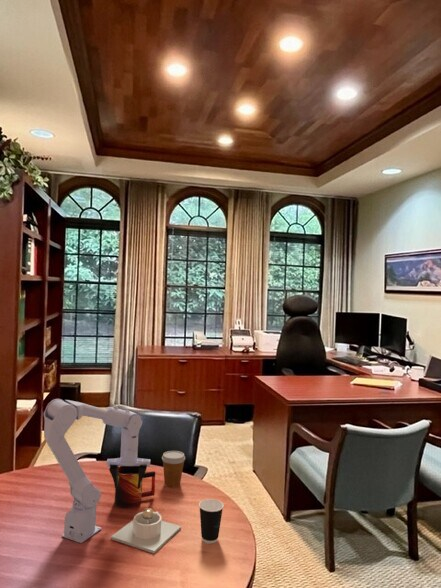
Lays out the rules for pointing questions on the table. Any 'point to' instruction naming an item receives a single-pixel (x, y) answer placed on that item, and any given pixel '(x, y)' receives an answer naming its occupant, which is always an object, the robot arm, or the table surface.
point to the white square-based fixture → (146, 533)
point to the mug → (131, 487)
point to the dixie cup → (210, 519)
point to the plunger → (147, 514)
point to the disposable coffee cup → (173, 467)
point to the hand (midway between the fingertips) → (127, 487)
